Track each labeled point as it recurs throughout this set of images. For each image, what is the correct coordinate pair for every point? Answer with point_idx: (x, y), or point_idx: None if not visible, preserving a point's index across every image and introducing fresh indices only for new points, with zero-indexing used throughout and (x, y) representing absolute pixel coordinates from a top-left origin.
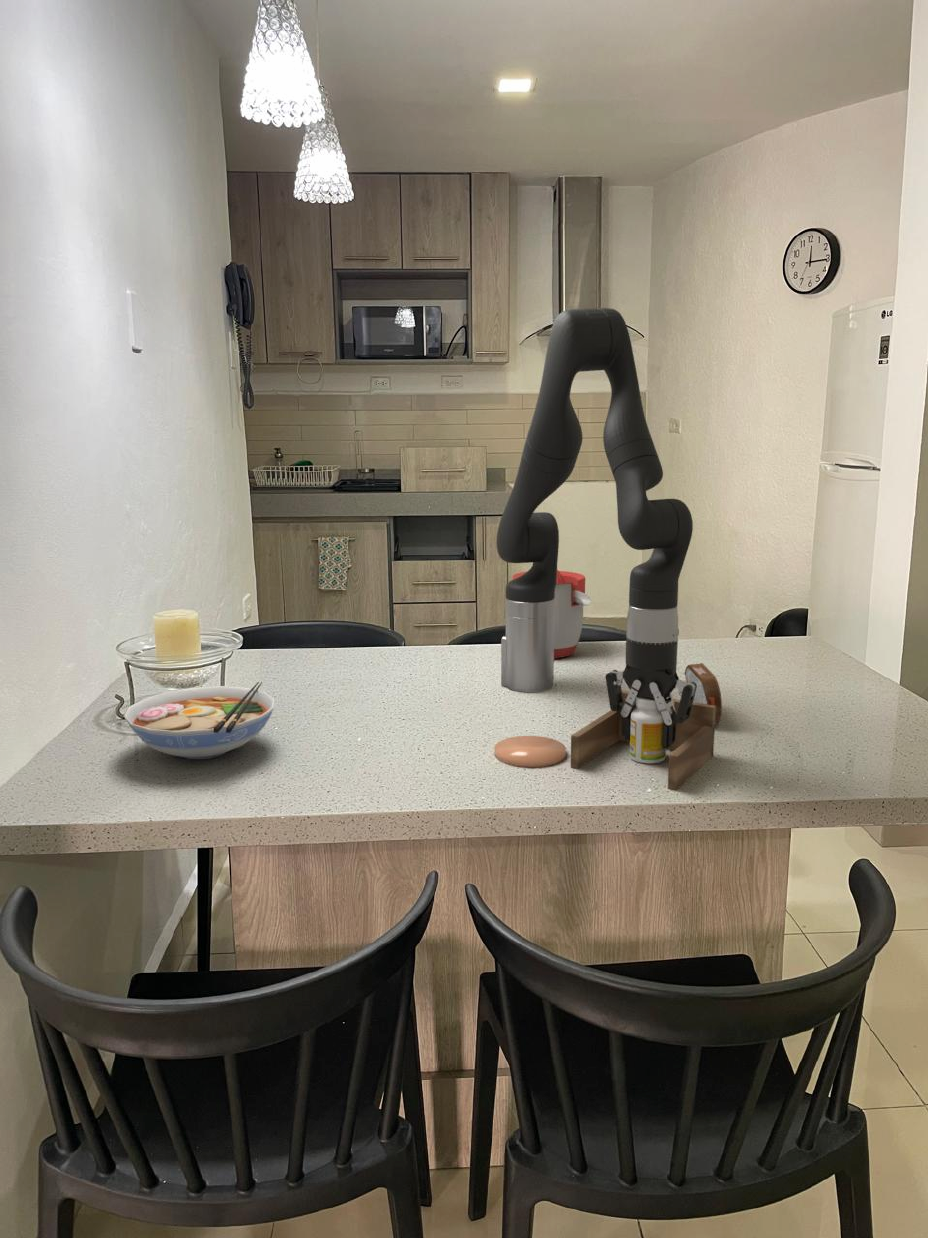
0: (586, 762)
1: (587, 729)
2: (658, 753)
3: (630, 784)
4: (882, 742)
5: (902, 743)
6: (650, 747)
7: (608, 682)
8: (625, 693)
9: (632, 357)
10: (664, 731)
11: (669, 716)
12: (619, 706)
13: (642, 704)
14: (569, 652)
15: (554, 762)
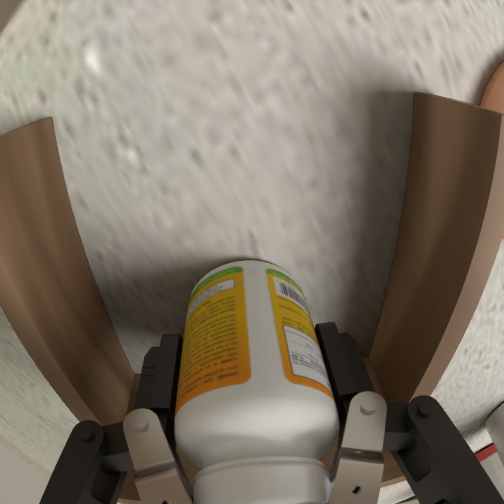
0: (409, 160)
1: (486, 234)
2: (189, 309)
3: (173, 56)
4: (37, 459)
5: (27, 458)
6: (208, 307)
7: (489, 497)
8: (393, 478)
9: None
10: (163, 384)
11: (132, 445)
12: (402, 427)
13: (272, 481)
14: None
15: (484, 102)
